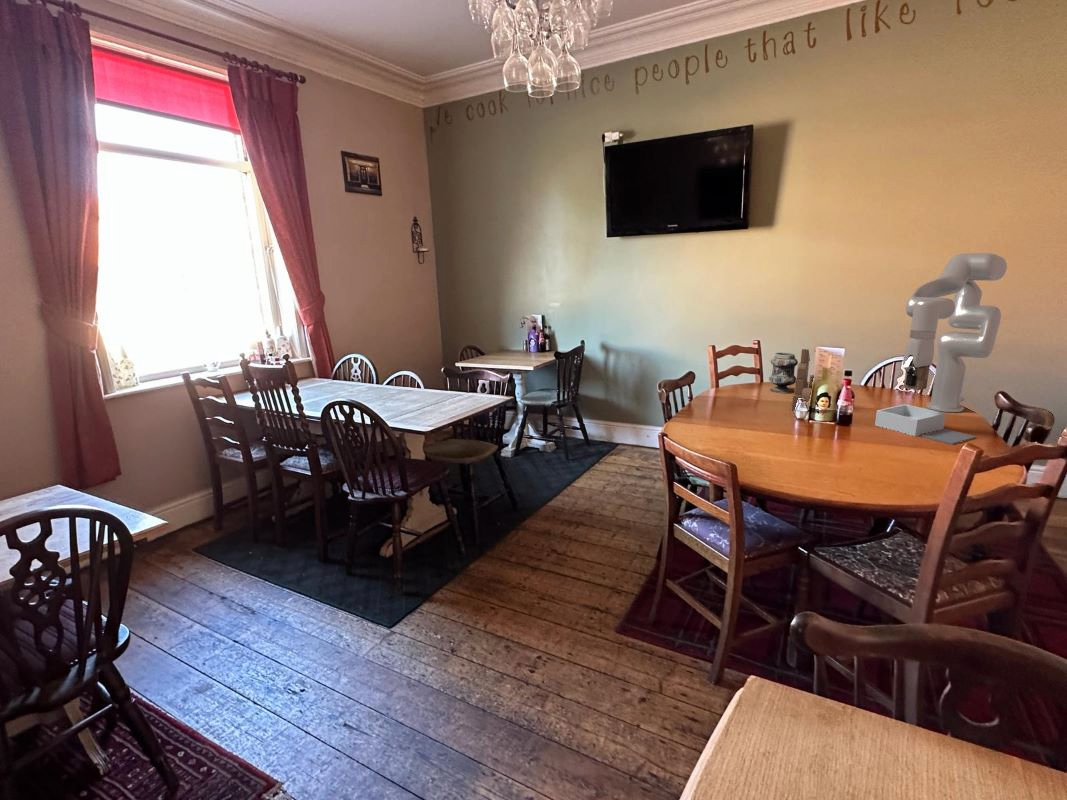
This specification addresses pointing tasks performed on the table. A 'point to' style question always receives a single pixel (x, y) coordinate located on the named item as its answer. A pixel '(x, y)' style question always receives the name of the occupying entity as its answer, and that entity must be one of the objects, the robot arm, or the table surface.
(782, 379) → the apothecary jar
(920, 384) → the walnut block
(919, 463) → the table surface
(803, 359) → the wooden toy
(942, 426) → the box
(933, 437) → the slate mat
